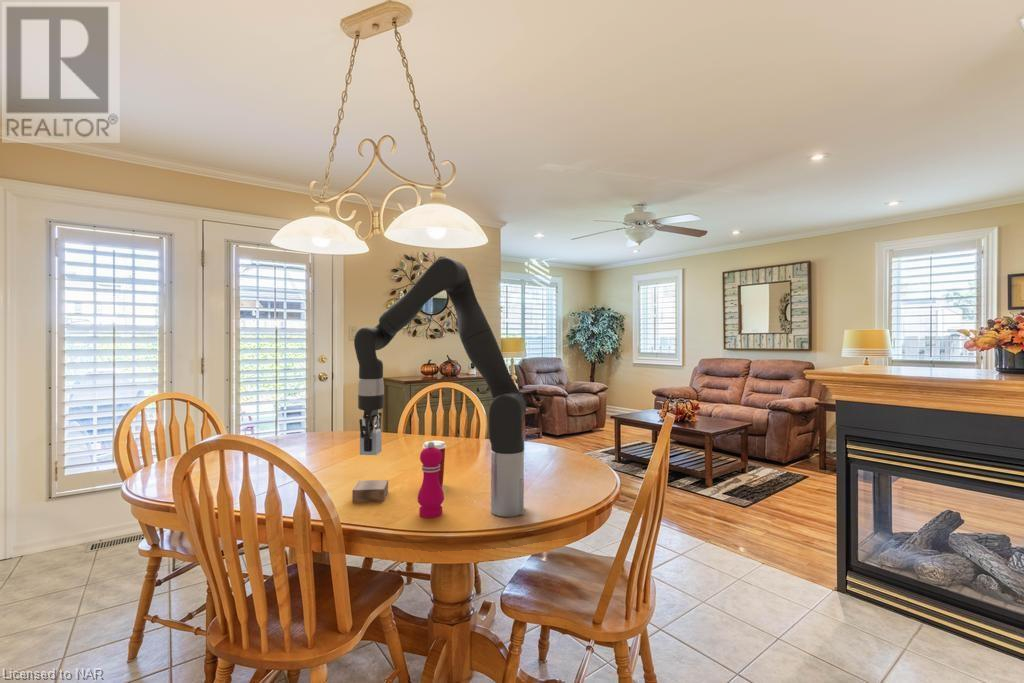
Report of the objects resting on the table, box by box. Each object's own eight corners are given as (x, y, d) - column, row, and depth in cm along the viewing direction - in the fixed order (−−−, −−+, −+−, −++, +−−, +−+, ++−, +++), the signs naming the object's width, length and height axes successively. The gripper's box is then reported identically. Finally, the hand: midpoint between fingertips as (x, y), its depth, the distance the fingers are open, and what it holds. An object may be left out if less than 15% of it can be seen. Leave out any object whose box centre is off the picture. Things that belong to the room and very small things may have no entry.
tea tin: (381, 451, 150) (381, 428, 150) (376, 455, 145) (376, 431, 145) (365, 450, 150) (365, 428, 150) (359, 454, 145) (359, 431, 145)
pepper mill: (412, 513, 134) (412, 441, 134) (434, 507, 139) (434, 437, 139) (427, 521, 129) (427, 446, 128) (449, 514, 134) (449, 441, 134)
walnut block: (388, 492, 153) (388, 479, 152) (383, 502, 144) (383, 489, 144) (358, 493, 152) (358, 480, 152) (352, 503, 143) (352, 490, 143)
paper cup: (449, 482, 162) (449, 441, 161) (440, 490, 154) (440, 446, 154) (428, 480, 164) (428, 439, 164) (417, 487, 156) (417, 444, 156)
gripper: (375, 396, 140) (375, 455, 140) (390, 390, 154) (389, 443, 154) (350, 396, 140) (350, 454, 140) (366, 390, 154) (366, 443, 155)
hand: (371, 448), depth 147 cm, fingers closed on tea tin, 5 cm apart
